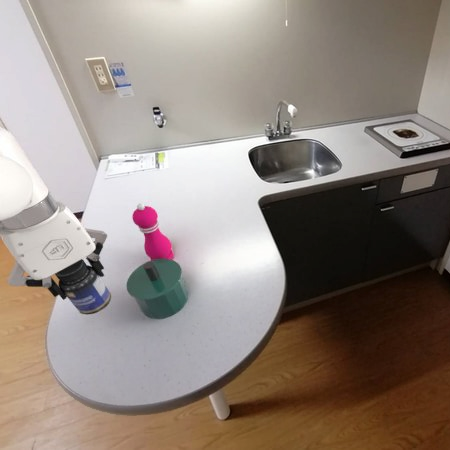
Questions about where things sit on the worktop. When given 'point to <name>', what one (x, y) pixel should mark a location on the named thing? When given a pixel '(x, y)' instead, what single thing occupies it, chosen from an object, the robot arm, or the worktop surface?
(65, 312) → the worktop surface
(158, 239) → the pepper mill
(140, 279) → the pot lid
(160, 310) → the pot
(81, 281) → the pill bottle
